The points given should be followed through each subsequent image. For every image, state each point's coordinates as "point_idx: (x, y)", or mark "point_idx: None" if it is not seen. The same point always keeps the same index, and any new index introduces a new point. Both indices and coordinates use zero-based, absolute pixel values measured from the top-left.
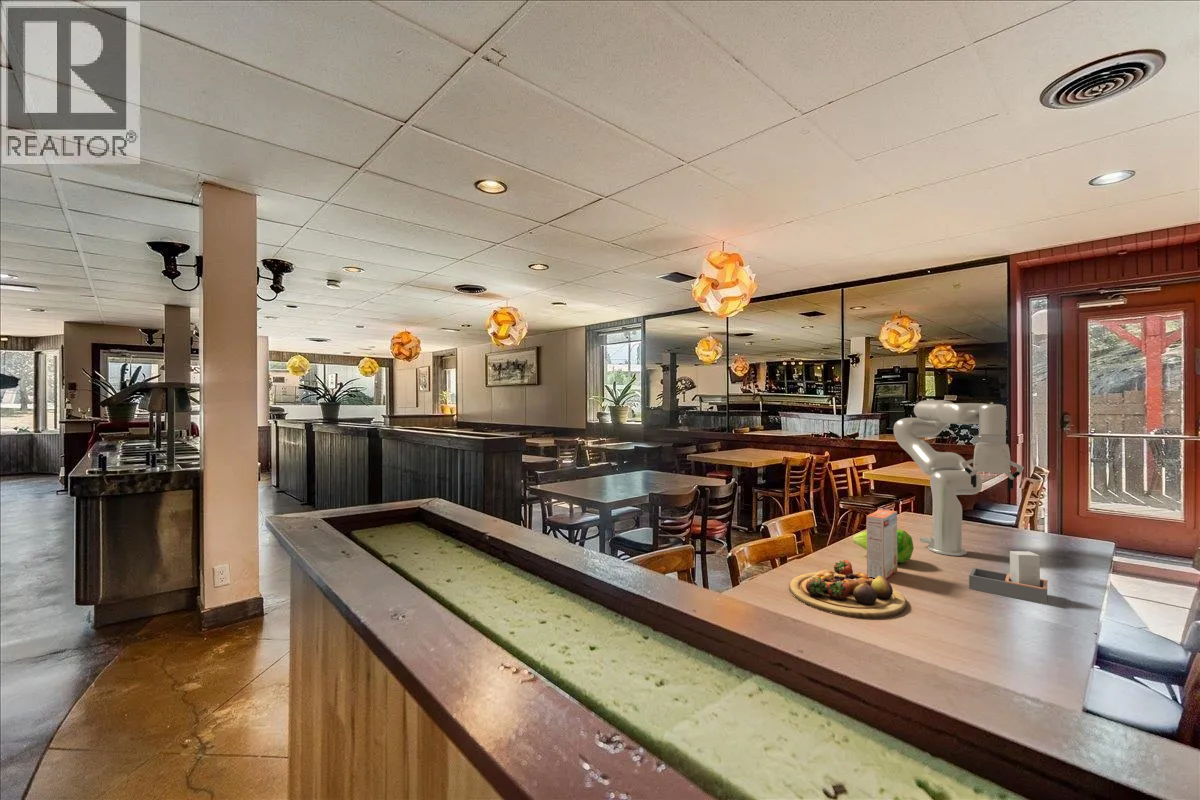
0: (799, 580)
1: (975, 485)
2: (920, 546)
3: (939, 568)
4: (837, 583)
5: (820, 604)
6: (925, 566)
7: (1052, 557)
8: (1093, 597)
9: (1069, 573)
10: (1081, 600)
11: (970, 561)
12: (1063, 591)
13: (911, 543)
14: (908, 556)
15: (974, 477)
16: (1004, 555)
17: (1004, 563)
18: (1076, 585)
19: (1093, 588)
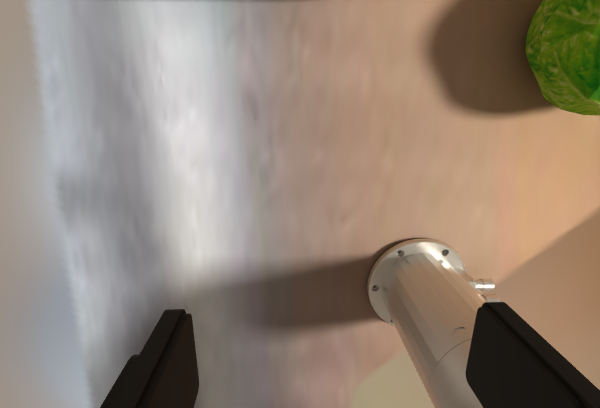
0: None
1: (490, 318)
2: None
3: (427, 68)
4: None
5: None
6: (466, 60)
7: None
8: (46, 70)
9: (133, 277)
10: (62, 8)
11: (353, 219)
12: (115, 74)
13: (571, 11)
14: (542, 1)
15: (583, 392)
16: (283, 342)
17: (275, 262)
18: (100, 167)
19: (64, 169)
